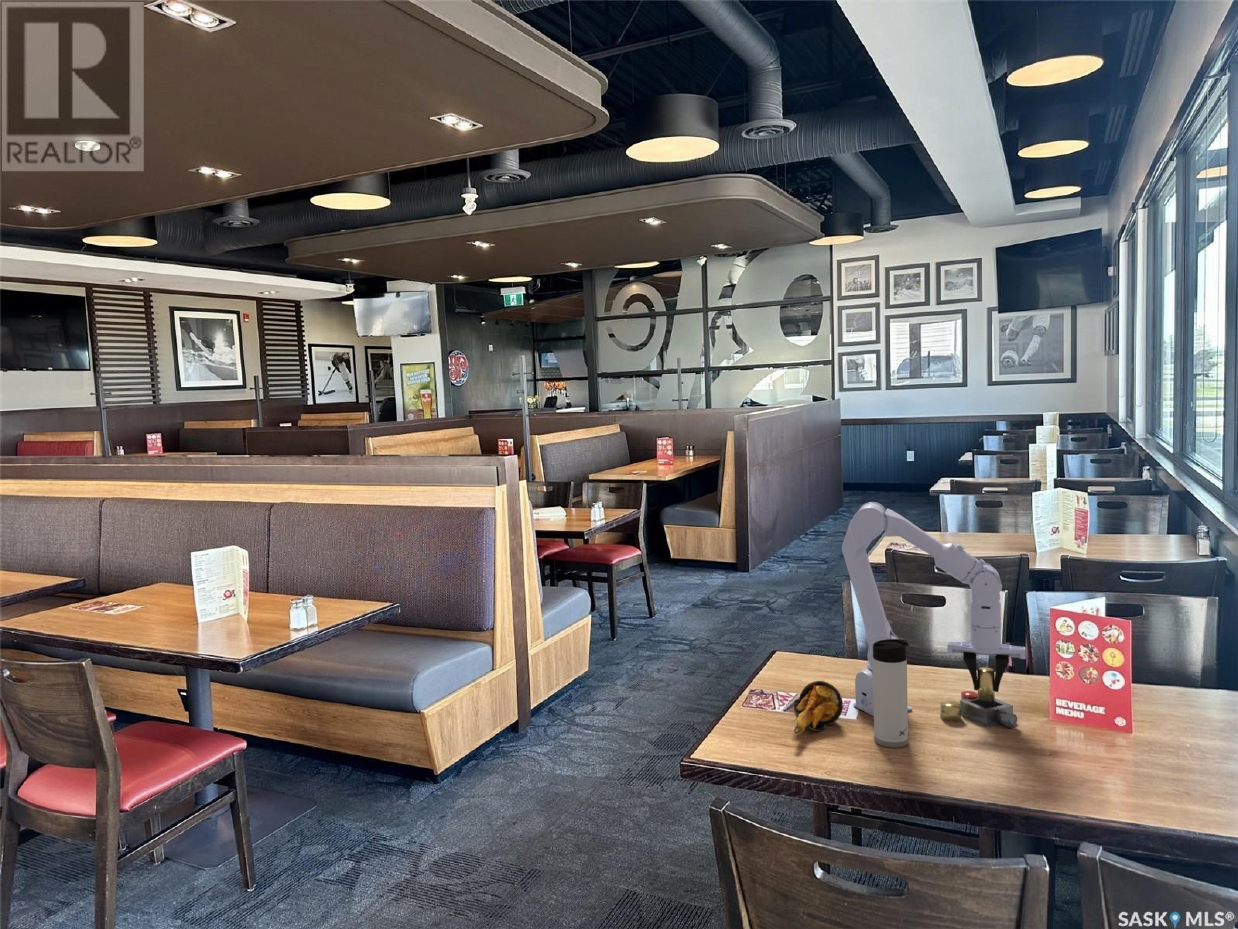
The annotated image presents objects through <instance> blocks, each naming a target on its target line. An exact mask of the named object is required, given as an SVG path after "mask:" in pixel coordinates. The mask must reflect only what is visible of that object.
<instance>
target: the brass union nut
mask: <svg viewBox="0 0 1238 929" xmlns="http://www.w3.org/2000/svg"><path fill="white" fill-rule="evenodd" d="M939 705H940V706H939V709H940V712H939V714H940V719H941V720H943V721H944V722H950V723H958V722H961V721H962V715H961V704H960V702H957V701H955V700H954V701H953V700H943V701H940V704H939Z"/></svg>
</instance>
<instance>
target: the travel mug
mask: <svg viewBox="0 0 1238 929" xmlns="http://www.w3.org/2000/svg"><path fill="white" fill-rule="evenodd" d="M908 646H909V641H908V640H907V639H900V638H898V639H886V640H881V641H877V642H875V643H874V644H873V697H874V716H873V729H874V730H873V734H874V737H873V738H874V741H875V742H876V744H878V745H880V746H883V747H886V748H894V749H895V748H896V749H898V748H903V747H905V746H907V744H909V716H908V713H909V711H908V706H909V705H908V662H907V661H908V660H907V659H908V658H907V647H908Z"/></svg>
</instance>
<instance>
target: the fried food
mask: <svg viewBox="0 0 1238 929" xmlns="http://www.w3.org/2000/svg"><path fill="white" fill-rule="evenodd" d="M798 698H799V699H795V700H793V702H792V708H793V713H794V714H793V715H794V716H795V719H796V721H795V723H794V729H793V733H794V734H795V736H798V735H800V734H802V733H803V732H805V730H806V729H808V730H810V731H814V732H823V731H824V730H825V727H827V726H830V725H832V724H834V723H836V722H837V721H838V720H839V718H840V717H841V715H842V712H843V708H844V701H843V697H842V695H841V693H840V691H839V690H838V689H837V688H836V687H835V686H834V685H833V684H831V683H829V682H828V681H827V682H826V681H824V680H816V681H812V682H810V683H808V684H807V685H805V687H803V689H802V690H801V692H800V694H799V696H798Z"/></svg>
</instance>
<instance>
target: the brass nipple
mask: <svg viewBox="0 0 1238 929" xmlns="http://www.w3.org/2000/svg"><path fill="white" fill-rule="evenodd" d="M977 680H978V690H977V694H978V699H980V700H982V701H994V700H995V699H996V692H995V669H993V668H991V667H986V666H985V667H978V668H977Z"/></svg>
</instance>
